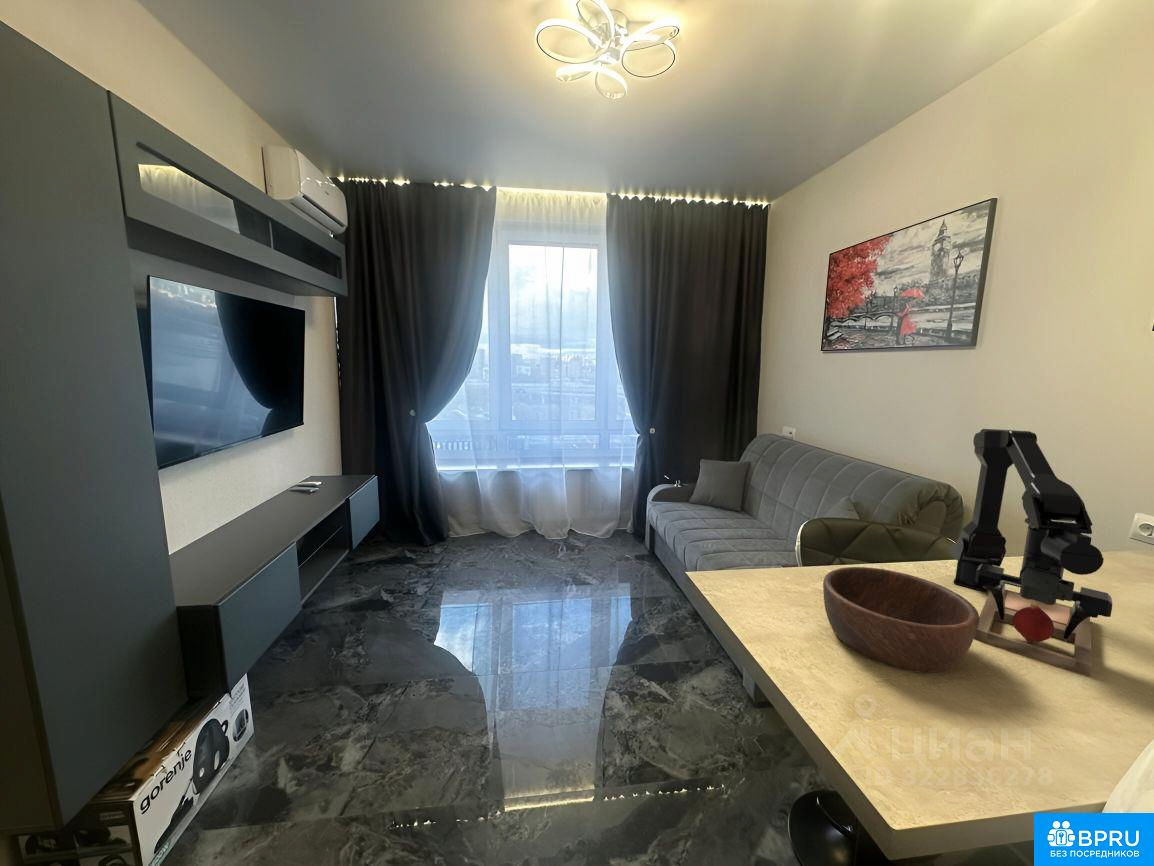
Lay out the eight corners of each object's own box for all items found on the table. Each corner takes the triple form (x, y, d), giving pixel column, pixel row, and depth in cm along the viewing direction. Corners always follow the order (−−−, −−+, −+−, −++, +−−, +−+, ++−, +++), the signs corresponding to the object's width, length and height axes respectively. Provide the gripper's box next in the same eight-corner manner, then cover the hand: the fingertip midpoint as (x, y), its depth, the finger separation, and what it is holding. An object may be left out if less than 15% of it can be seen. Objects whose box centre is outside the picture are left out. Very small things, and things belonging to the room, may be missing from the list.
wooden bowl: (841, 598, 110) (845, 556, 109) (980, 643, 93) (987, 594, 91) (800, 640, 93) (804, 591, 91) (961, 706, 75) (970, 646, 74)
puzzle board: (973, 638, 94) (974, 627, 94) (990, 593, 113) (992, 584, 113) (1090, 676, 83) (1092, 664, 83) (1088, 620, 102) (1089, 610, 102)
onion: (1040, 637, 95) (1046, 599, 94) (1058, 653, 90) (1064, 614, 89) (1004, 631, 97) (1010, 595, 96) (1020, 646, 92) (1026, 608, 90)
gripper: (976, 550, 92) (965, 624, 94) (1120, 582, 79) (1104, 668, 81) (983, 536, 100) (973, 605, 102) (1116, 564, 86) (1102, 643, 88)
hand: (1032, 628), depth 93 cm, fingers open, 9 cm apart
